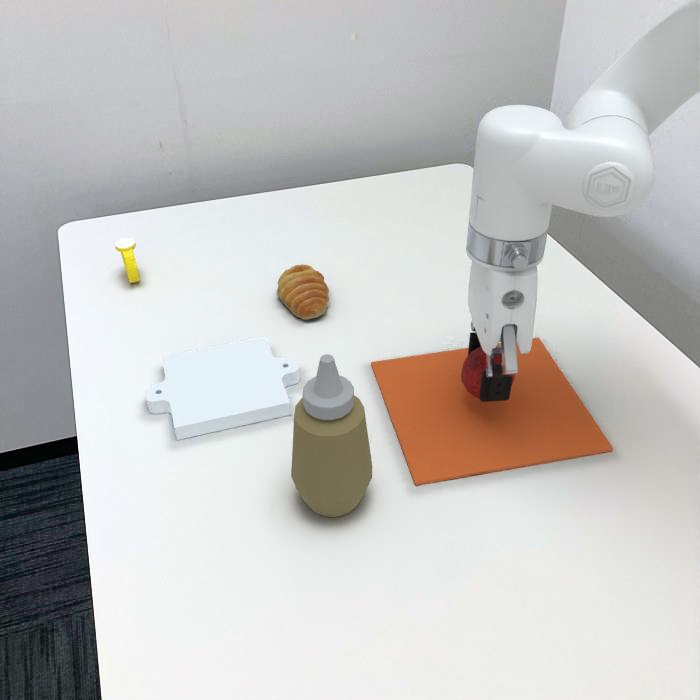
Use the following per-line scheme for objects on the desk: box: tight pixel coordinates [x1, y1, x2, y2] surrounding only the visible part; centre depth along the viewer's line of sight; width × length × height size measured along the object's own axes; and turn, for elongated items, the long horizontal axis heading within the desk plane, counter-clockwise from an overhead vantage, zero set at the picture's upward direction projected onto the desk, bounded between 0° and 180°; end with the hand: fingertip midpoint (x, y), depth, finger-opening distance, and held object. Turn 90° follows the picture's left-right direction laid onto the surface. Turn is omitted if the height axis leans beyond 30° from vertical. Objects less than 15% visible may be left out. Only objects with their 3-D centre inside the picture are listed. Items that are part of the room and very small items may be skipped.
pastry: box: [276, 263, 330, 321], centre depth 100 cm, size 9×7×4 cm
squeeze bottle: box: [290, 353, 373, 518], centre depth 69 cm, size 8×8×18 cm
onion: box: [461, 345, 515, 399], centre depth 82 cm, size 6×6×8 cm
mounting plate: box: [144, 335, 301, 441], centre depth 87 cm, size 18×13×2 cm
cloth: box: [370, 337, 614, 486], centre depth 85 cm, size 22×20×1 cm
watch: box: [114, 237, 141, 284], centre depth 105 cm, size 6×3×6 cm, turn 23°
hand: (487, 378), depth 83 cm, fingers closed on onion, 5 cm apart
